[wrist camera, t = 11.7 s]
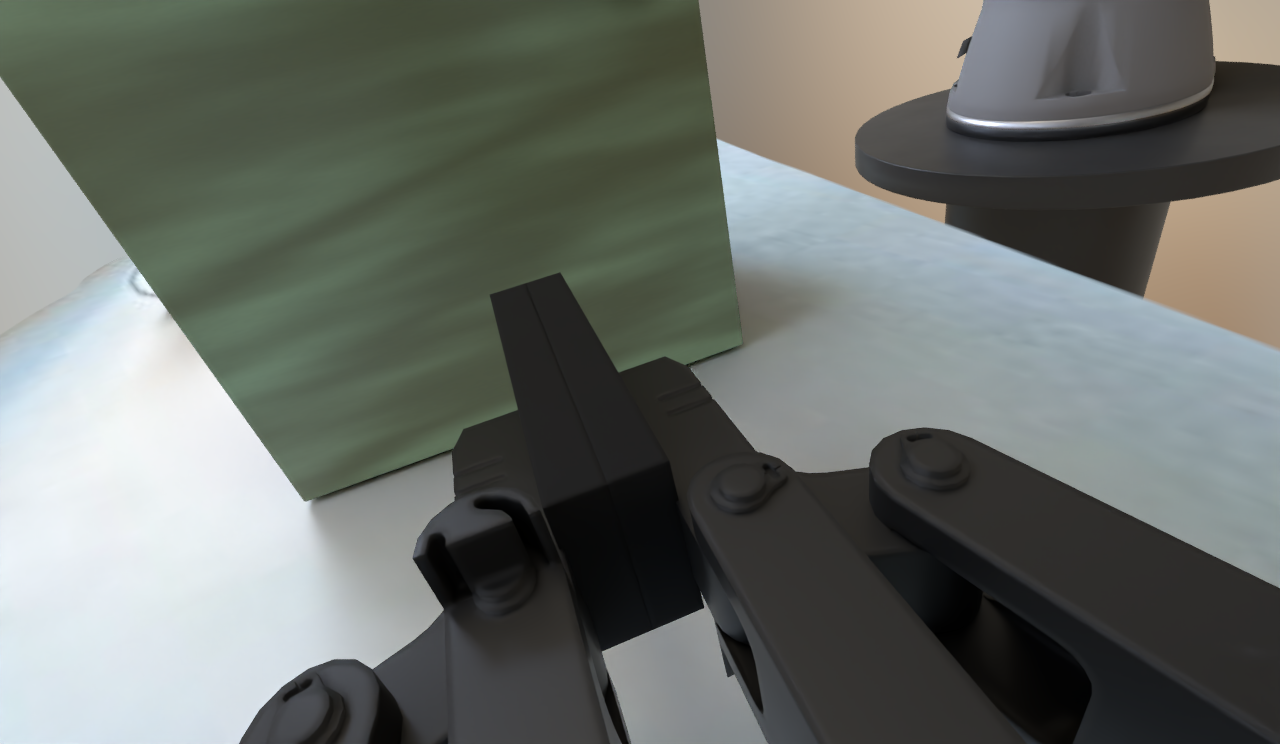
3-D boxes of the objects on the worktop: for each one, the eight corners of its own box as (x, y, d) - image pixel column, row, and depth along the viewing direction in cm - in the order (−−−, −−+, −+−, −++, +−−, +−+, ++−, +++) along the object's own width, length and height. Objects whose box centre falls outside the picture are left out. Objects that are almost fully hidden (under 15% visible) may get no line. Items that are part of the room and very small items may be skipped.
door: (819, 414, 19) (768, -554, 9) (272, 628, 16) (-673, -418, 6) (732, 334, 24) (639, -333, 14) (308, 485, 21) (-174, -208, 11)
